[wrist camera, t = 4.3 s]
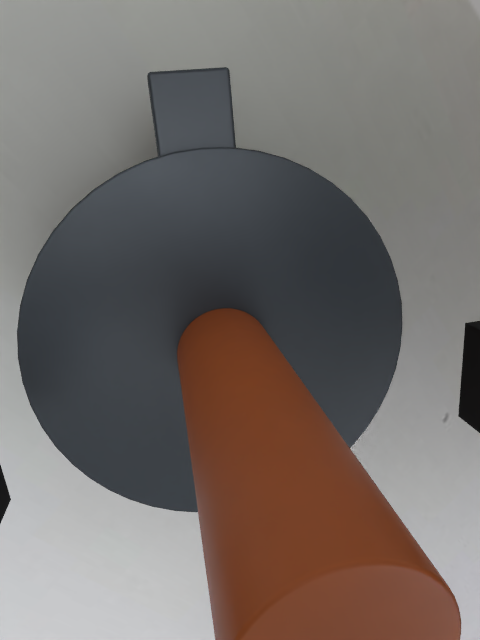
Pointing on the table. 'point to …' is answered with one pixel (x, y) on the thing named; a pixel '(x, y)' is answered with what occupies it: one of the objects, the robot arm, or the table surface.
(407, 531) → the lid
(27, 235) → the table surface
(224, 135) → the cup
